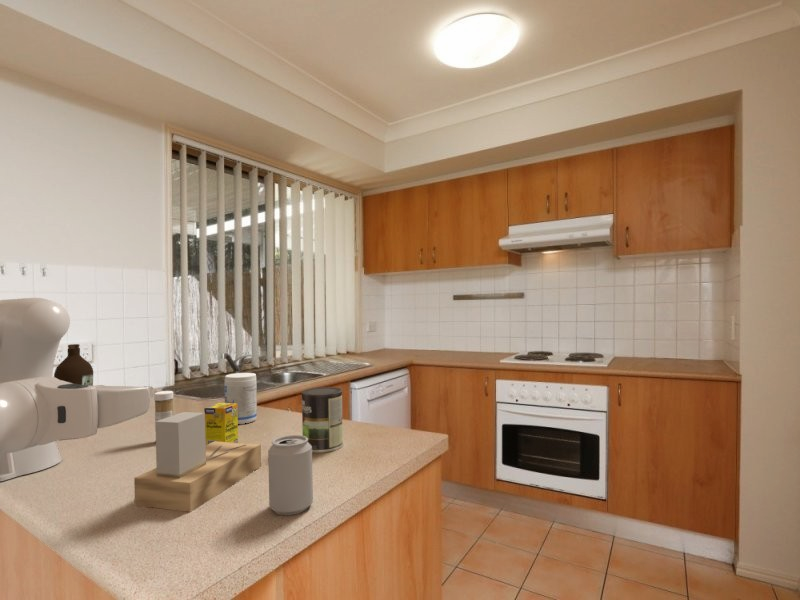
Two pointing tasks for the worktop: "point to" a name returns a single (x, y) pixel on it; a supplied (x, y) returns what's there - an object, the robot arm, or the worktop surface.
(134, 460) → the worktop surface
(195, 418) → the block
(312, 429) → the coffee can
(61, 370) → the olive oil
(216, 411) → the supplement box
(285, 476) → the can
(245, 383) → the supplement tub
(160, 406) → the sprinkles bottle
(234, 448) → the plank
